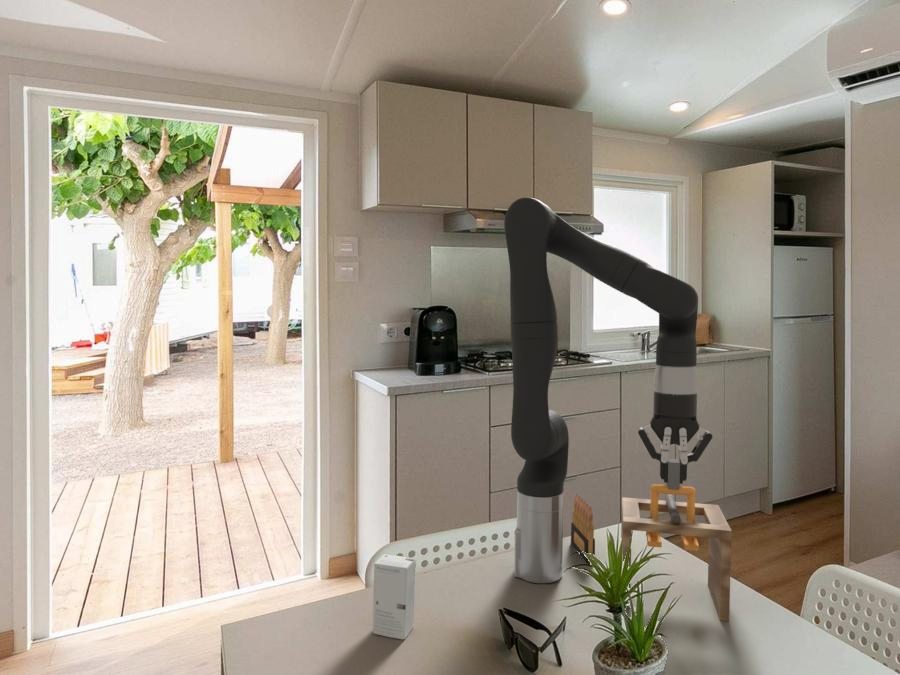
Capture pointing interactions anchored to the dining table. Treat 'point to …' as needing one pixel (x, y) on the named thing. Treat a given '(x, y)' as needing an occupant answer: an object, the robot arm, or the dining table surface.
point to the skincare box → (394, 596)
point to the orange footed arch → (674, 488)
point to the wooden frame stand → (713, 529)
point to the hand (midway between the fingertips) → (673, 481)
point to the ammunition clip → (582, 528)
